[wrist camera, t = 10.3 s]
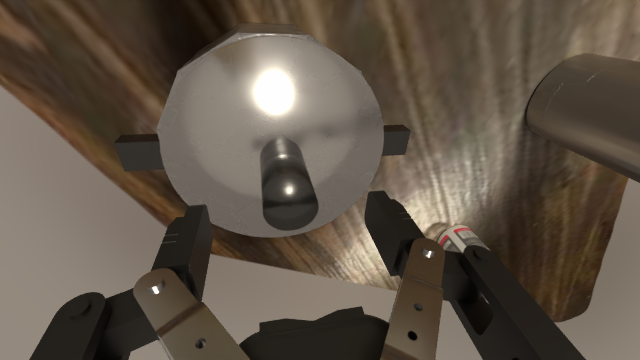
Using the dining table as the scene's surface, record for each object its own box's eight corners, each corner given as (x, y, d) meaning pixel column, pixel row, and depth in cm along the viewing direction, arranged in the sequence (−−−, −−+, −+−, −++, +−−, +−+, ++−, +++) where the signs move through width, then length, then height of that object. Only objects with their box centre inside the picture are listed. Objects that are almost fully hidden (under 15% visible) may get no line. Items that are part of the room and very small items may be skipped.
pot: (384, 27, 23) (436, 38, 17) (362, 172, 31) (392, 217, 25) (126, 18, 19) (62, 27, 13) (174, 185, 27) (150, 244, 21)
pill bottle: (445, 254, 43) (488, 312, 35) (429, 240, 41) (473, 299, 33) (474, 234, 42) (526, 289, 34) (460, 217, 39) (513, 273, 31)
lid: (388, 35, 17) (464, 55, 11) (360, 211, 25) (396, 280, 19) (137, 28, 15) (53, 50, 8) (193, 229, 22) (171, 316, 16)
